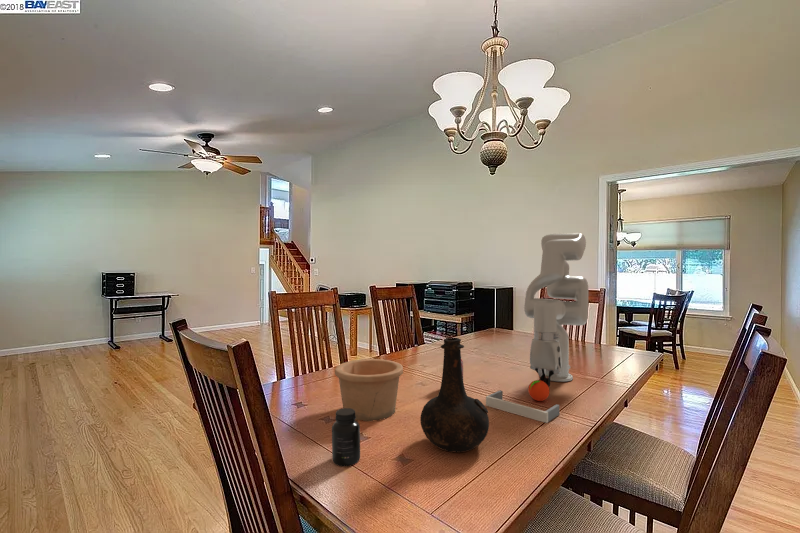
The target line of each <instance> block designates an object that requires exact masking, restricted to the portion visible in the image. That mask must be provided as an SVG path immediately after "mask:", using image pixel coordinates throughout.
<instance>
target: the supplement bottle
mask: <svg viewBox="0 0 800 533" xmlns="http://www.w3.org/2000/svg"><path fill="white" fill-rule="evenodd" d="M334 418H335V421H334V423H333V424H332V426H331V457H332V462H333V464H335V465H337V466H338V465H339V466H338V467H351V466H354V465H356V464H357V463H358V462H359V461H360V459H361V427H360V426H361V425H360V423H359V421H358V420H355V419H356V416H355V410H354V409H351V408H343V407H342V408H340V409H338V410H336V411H335V417H334ZM355 463H356V464H355ZM353 464H354V465H353ZM350 465H351V466H350Z"/></svg>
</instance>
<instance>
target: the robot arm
mask: <svg viewBox="0 0 800 533" xmlns="http://www.w3.org/2000/svg"><path fill="white" fill-rule="evenodd" d="M540 244H541V249H542V255H541V264H540V273H539V274H538V275H537V276H536V277H535V278H533V280H532V281H531V282H530V283H529V285H528V286H527V289H526V291H525V297H524V305H523V306H524V307H523V308H524V310H523V311H524V314H525V316H526V317H527V318H530V319H533V338H532V340H531V344H530V349H529V350H530V351H529V364H530V369H531V370H533V371H535V372H536V373H537V374H538V377H539V380H541V381H543V382H545V383H546V384H547V385H548V387H549V388H550V386H551V382H556V383H557V382H559V383H561V382H563V383H566V382H570V381H572V380H573V379H574V377H573V375H572V374H571V373H569V371H570V369H571V365H570V364H569V363H570V362H569V360H570V358H569V356H570V354H569V340H570V339H569V338H570V336H569V333H568V332H567V330H566V329H565V328H564V327H563V326H565V325H566V326H584V325H586V324H587V322H588V320H589V318H588V317H589V284H588V281H587V278H585V277H584V276H578V275H570V264H569V263H568V262H567V261H573V262H575V261H580V260H582V258H583V256H584V253H585V250H586V245H587V239H586V236H585V235H584V234H583V233H580V232H570V233H550V234H546V235H544V236H543V237H542V238H541V243H540ZM545 287H546V293H547V294H546V295H547V296H548V298H536V297H535V295H536V293H538V291H540V290H541V289H543V288H545ZM549 297H550V298H549ZM563 299H564V300H563ZM568 300H571V301H568ZM572 300H574V301H572Z"/></svg>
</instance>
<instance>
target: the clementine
mask: <svg viewBox="0 0 800 533" xmlns="http://www.w3.org/2000/svg"><path fill="white" fill-rule="evenodd" d="M527 391H528V394H529V396H530V397H531V398H532V399H533V400H534V401H538V402H543V401H545V400H547V399H548V398H549V395H550V387H548V385H547V384H546V383H545V382H543V381H541V380H540V379H535V380H533V381H531V382H530V383H529V386H528V389H527Z"/></svg>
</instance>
